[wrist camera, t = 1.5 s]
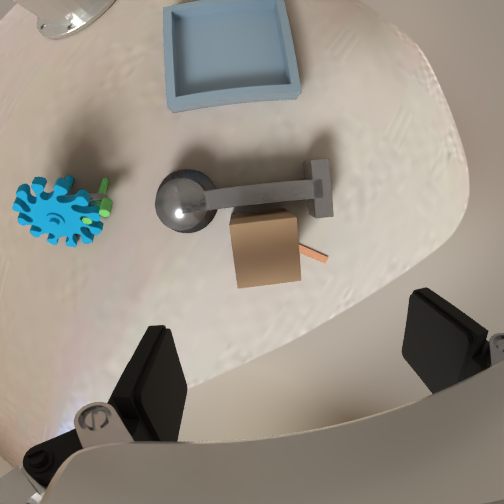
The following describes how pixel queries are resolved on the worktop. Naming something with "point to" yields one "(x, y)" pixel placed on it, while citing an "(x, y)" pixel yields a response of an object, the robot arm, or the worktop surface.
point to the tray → (228, 53)
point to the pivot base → (211, 213)
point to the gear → (62, 210)
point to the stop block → (265, 247)
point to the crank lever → (243, 196)
